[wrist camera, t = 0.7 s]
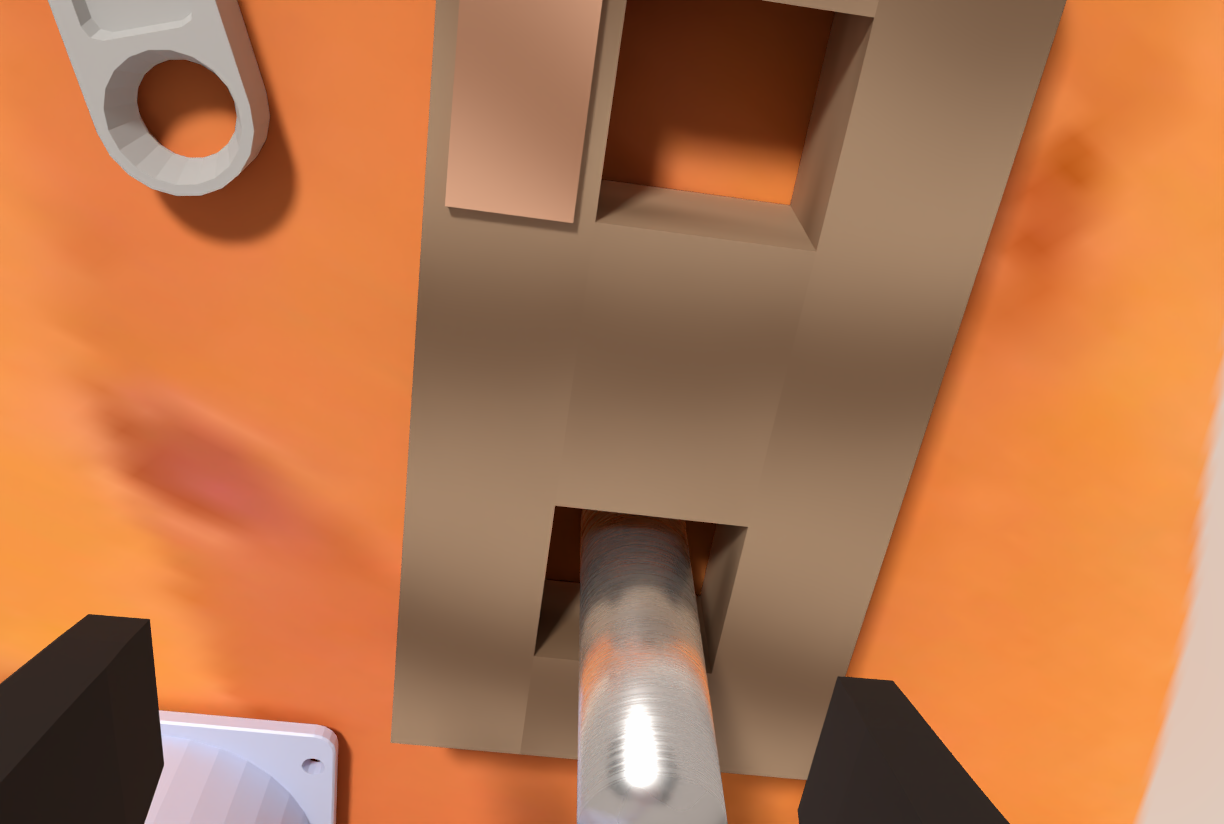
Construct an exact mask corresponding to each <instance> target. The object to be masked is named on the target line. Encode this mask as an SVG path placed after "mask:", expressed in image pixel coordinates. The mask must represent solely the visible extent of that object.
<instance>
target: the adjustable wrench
mask: <svg viewBox="0 0 1224 824" xmlns="http://www.w3.org/2000/svg"><path fill="white" fill-rule="evenodd" d="M48 2H49V5H50V7H51V10H52V13H53V15H54V18H55V21H56V23H57V26H58V29H59V31H60V34H61V37H62V40H63V42H64V45H65V48H66V50H67V53H68V56H69V58H70V61H71V64H72V66H73V69H74V72H75V75H76V77H77V80H78V83H79V85H80V88H81V91H82V93H83V96H84V99H85V101H86V104H87V107H88V110H89V112H90V115H91V118H92V120H93V123H94V126H95V128H96V131H97V133H98V135H99V137H100V139H101V140H102V142H103V144H104V146H105V147H106V149H107V151H108V153H109V155H110V156H111V157H112V158H113V159H114V160H115V161H116V162H117V163H118V164H119V165H120V166H121V167H122V168H123V169H124V170H125V171H126V172H127V173H128V174H129V175H130V176H131V177H133V178H135V179H136V180H138V181H140V182H141V183H143V184H145V185H146V186H148V187H150V188H151V189H154V190H158V191H161V192H165V193H168V194H172V195H175V196H201V195H204V194H207V193H210V192H213V191H216V190H218V189H221V188H223V187H224V186H225V185H227V184H228V183H229V182H230V181H232V180H233V179H234V178H235V177H236V176H238V175H239V174H240V173H241V172H242V171H243V170H244V169H245V168H246V167H247V166H248V165H249V164H250V163H251V162H252V161H253V160H254V159H255V158H256V157H257V155H258V153H259V151H260V150H261V148H262V146H263V144H264V143H265V141H266V139H267V133H268V127H269V121H270V112H269V105H268V99H267V93H266V89H265V86H264V83H263V80H262V77H261V74H260V71H259V67H258V64H257V61H256V58H255V55H254V52H253V49H252V45H251V42H250V39H249V36H248V33H247V30H246V26H245V23H244V20H243V17H242V14H241V11H240V8H239V4H238V1H237V0H48ZM167 60H188V61H191V62H194V63H198V64H201V65H203V66H204V67H206V68H207V69H209V70H210V71H212V72H213V73H215V74H216V75H217V76H218V77H219V78H220V80H221V81H222V82H223V83H224V84H225V85H226V86H227V88H228V90H229V92H230V94H231V96H232V98H233V100H234V103H235V109H236V114H237V120H236V127H235V132H234V134H233V136H232V138H231V139H230V141H229V143H228V144H227V145H226V146H225V147H224V148H223V149H221V150H220V151H219V152H218V153H216V154H213V155H210V156H207V157H204V158H188V157H185V156H181V155H178V154H175V153H174V152H172V151H171V150H169V149H167V148H166V147H164V146H163V145H161V144H160V143H159V141H158V140H157V139H156V138H155V137H154V136H153V135H152V134H151V133H150V132H149V131H148V129H147V127H146V125H145V123H144V121H143V120H142V118H141V116H140V113H139V109H138V104H137V95H138V87H139V85H140V83H141V81H142V79H143V77H144V75H145V74H146V73H147V72H148V71H149V70H150V69H151V68H153V67H154V66H155V65H156V64H159V63H162V62H165V61H167Z"/></svg>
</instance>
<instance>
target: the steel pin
mask: <svg viewBox="0 0 1224 824" xmlns="http://www.w3.org/2000/svg"><path fill="white" fill-rule="evenodd" d="M577 824H728V823H727V816H726V808H725V801H724V794H723V787H722V780H721V773H720V766H719V759H718V752H717V745H716V738H715V731H714V724H713V717H712V709H711V702H710V695H709V688H708V681H707V674H706V667H705V660H704V653H703V646H702V639H701V632H700V625H699V618H698V611H697V603H696V596H695V589H694V582H693V575H692V568H691V561H690V554H689V547H688V540H687V533H686V526H685V520H681V519H672V518H663V517H654V516H645V515H636V514H627V513H618V512H609V511H600V510H590V509H582V514H581V549H580V624H579V699H578V773H577Z"/></svg>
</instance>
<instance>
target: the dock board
mask: <svg viewBox="0 0 1224 824" xmlns="http://www.w3.org/2000/svg"><path fill="white" fill-rule="evenodd" d="M764 1H770V2H777V3H783V4H790V5H796V6H803V7H809V8H816V9H822V10H829V11H835V13H834V18H833V22H832V26H831V31H830V35H829V39H828V44H827V48H826V52H825V57H824V61H823V65H822V70H821V74H820V78H819V83H818V87H817V91H816V96H815V100H814V104H813V109H812V113H811V117H810V122H809V126H808V130H807V135H806V139H805V143H804V148H803V152H802V156H801V161H800V165H799V169H798V174H797V178H796V182H795V187H794V191H793V195H792V200H791V204H790V205H784V204H777V203H769V202H762V201H755V200H747V199H740V198H733V197H726V196H718V195H711V194H704V193H696V192H689V191H682V190H675V189H667V188H660V187H653V186H645V185H638V184H631V183H624V182H616V181H609V180H602V179H601V178H602V171H603V164H604V157H605V150H606V143H607V136H608V129H609V122H610V114H611V107H612V100H613V93H614V86H615V79H616V72H617V65H618V58H619V51H620V44H621V37H622V30H623V23H624V16H625V9H626V2H627V0H436V10H435V27H434V43H433V60H432V76H431V92H430V109H429V125H428V141H427V158H426V174H425V190H424V207H423V223H422V239H421V256H420V272H419V289H418V305H417V321H416V338H415V354H414V370H413V387H412V403H411V419H410V436H409V452H408V468H407V485H406V501H405V518H404V534H403V550H402V567H401V583H400V599H399V616H398V632H397V648H396V665H395V681H394V697H393V714H392V730H391V743H400V744H411V745H422V746H433V747H444V748H456V749H467V750H478V751H489V752H500V753H511V754H522V755H534V756H545V757H556V758H567V759H578V699H579V624H580V583H573V582H563V581H554V580H545V573H546V566H547V559H548V552H549V545H550V538H551V531H552V524H553V517H554V510H555V506H563V507H572V508H581V509H590V510H600V511H609V512H618V513H627V514H636V515H645V516H654V517H663V518H672V519H681V520H690V521H699V522H708V523H717V525H716V529H715V533H714V538H713V542H712V546H711V551H710V555H709V559H708V564H707V568H706V572H705V577H704V581H703V585H702V590H701V594H700V596H698V595H695V596H696V603H697V611H698V618H699V625H700V632H701V639H702V646H703V653H704V660H705V667H706V674H707V681H708V688H709V695H710V702H711V709H712V717H713V724H714V731H715V738H716V745H717V752H718V759H719V766H720V772H723V773H734V774H745V775H757V776H768V777H779V778H790V779H801V780H807V778H808V774H809V771H810V768H811V764H812V761H813V757H814V754H815V751H816V747H817V744H818V741H819V737H820V734H821V730H822V727H823V724H824V720H825V717H826V714H827V710H828V707H829V704H830V700H831V697H832V693H833V690H834V687H835V683H836V680H837V677H838V676H841V677H845V675H846V672H847V669H848V666H849V663H850V660H851V657H852V654H853V651H854V648H855V645H856V642H857V639H858V636H859V633H860V629H861V626H862V623H863V620H864V617H865V614H866V611H867V608H868V605H869V602H870V599H871V596H872V593H873V590H874V587H875V584H876V581H877V578H878V575H879V571H880V568H881V565H882V562H883V559H884V556H885V553H886V550H887V547H888V544H889V541H890V538H891V535H892V532H893V529H894V526H895V523H896V520H897V516H898V513H899V510H900V507H901V504H902V501H903V498H904V495H905V492H906V489H907V486H908V483H909V480H910V477H911V474H912V471H913V468H914V465H915V461H916V458H917V455H918V452H919V449H920V446H921V443H922V440H923V437H924V434H925V431H926V428H927V425H928V422H929V419H930V416H931V413H932V410H933V407H934V403H935V400H936V397H937V394H938V391H939V388H940V385H941V382H942V379H943V376H944V373H945V370H946V367H947V364H948V361H949V358H950V355H951V352H952V348H953V345H954V342H955V339H956V336H957V333H958V330H959V327H960V324H961V321H962V318H963V315H964V312H965V309H966V306H967V303H968V300H969V297H970V293H971V290H972V287H973V284H974V281H975V278H976V275H977V272H978V269H979V266H980V263H981V260H982V257H983V254H984V251H985V248H986V245H987V242H988V239H989V235H990V232H991V229H992V226H993V223H994V220H995V217H996V214H997V211H998V208H999V205H1000V202H1001V199H1002V196H1003V193H1004V190H1005V187H1006V184H1007V180H1008V177H1009V174H1010V171H1011V168H1012V165H1013V162H1014V159H1015V156H1016V153H1017V150H1018V147H1019V144H1020V141H1021V138H1022V135H1023V132H1024V129H1025V125H1026V122H1027V119H1028V116H1029V113H1030V110H1031V107H1032V104H1033V101H1034V98H1035V95H1036V92H1037V89H1038V86H1039V83H1040V80H1041V77H1042V74H1043V71H1044V67H1045V64H1046V61H1047V58H1048V55H1049V52H1050V49H1051V46H1052V43H1053V40H1054V37H1055V34H1056V31H1057V28H1058V25H1059V22H1060V19H1061V16H1062V12H1063V9H1064V6H1065V3H1066V0H764Z"/></svg>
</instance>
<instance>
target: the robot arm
mask: <svg viewBox="0 0 1224 824" xmlns="http://www.w3.org/2000/svg"><path fill="white" fill-rule="evenodd" d="M313 758H314V759H317V760H320V762H316V761H312V760H310V759H313ZM337 769H338V739H337V736H336V734H335V733H334V732H333V731H332V730H330V729H329V728H327V727H325V726H321V725H316V724H305V723H294V722H282V721H271V720H260V719H249V718H238V717H227V716H216V715H205V714H194V713H183V712H172V711H161V710H159V707H158V697H157V687H156V677H155V667H154V657H153V647H152V637H151V627H150V619H140V618H128V617H116V616H104V615H92V614H88V615H87V616H86V617H84V618H83V619H82V620H80V621H79V622H78V623H77V624H75V625H74V626H73V627H71V628H70V629H69V630H67V631H66V632H65V633H63V634H62V635H61V636H60V637H58V638H57V639H56V640H54V641H53V642H52V643H51V644H49V645H48V646H47V647H46V648H44V649H43V650H42V651H41V652H39V653H38V654H37V655H36V656H34V657H33V658H32V659H31V660H29V661H28V662H27V663H26V664H24V665H23V666H22V667H21V668H19V669H18V670H17V671H16V672H14V673H13V674H12V675H11V676H9V677H8V678H7V679H6V680H4V681H3V682H2V683H1V684H0V824H336V803H337ZM798 817H799V824H1010V823H1009V822H1008V821H1007V820H1006V819H1005V818H1004V816H1003V815H1002V814H1001V813H1000V812H999V811H998V809H997V808H996V807H995V806H994V805H993V803H992V802H991V801H990V800H989V799H988V797H987V796H986V795H985V794H984V793H983V791H982V790H981V789H980V788H979V787H978V785H977V784H976V783H975V782H974V781H973V779H972V778H971V777H970V776H969V774H968V773H967V772H966V771H965V769H964V768H963V767H962V766H961V765H960V763H959V762H958V761H957V760H956V758H955V757H954V756H953V755H952V753H951V752H950V751H949V750H948V749H947V747H946V746H945V745H944V744H943V742H942V741H941V740H940V739H939V737H938V736H937V735H936V734H935V732H934V731H933V730H932V729H931V727H930V726H929V725H928V724H927V722H926V721H925V720H924V719H923V717H922V716H921V715H920V714H919V712H918V711H917V710H916V709H915V707H914V706H913V705H912V704H911V702H910V701H909V700H908V699H907V697H906V696H905V695H904V694H903V692H902V691H901V690H900V689H899V688H898V686H897V685H896V684H895V683H894V682H893V681H889V680H877V679H865V678H853V677H841V676H838V677H837V680H836V683H835V687H834V690H833V693H832V697H831V700H830V704H829V707H828V710H827V714H826V717H825V720H824V724H823V727H822V730H821V734H820V737H819V741H818V744H817V747H816V751H815V754H814V757H813V761H812V764H811V768H810V771H809V774H808V778H807V781H806V784H805V788H804V791H803V794H802V798H801V801H800V805H799V808H798Z"/></svg>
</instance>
